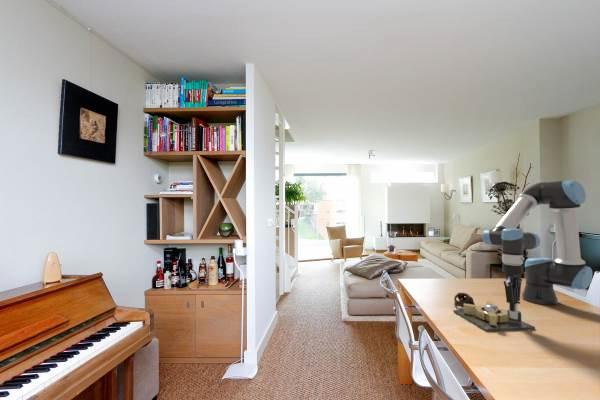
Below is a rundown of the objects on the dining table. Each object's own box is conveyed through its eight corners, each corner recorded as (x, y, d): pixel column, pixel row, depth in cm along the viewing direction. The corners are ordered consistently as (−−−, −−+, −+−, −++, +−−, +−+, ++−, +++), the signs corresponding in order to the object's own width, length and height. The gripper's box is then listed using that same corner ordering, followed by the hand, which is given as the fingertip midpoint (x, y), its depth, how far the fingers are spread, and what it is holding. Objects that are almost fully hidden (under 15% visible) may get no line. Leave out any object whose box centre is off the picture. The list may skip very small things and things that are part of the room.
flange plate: (495, 310, 143) (495, 297, 144) (535, 329, 121) (534, 313, 122) (453, 312, 142) (453, 298, 142) (485, 331, 120) (485, 315, 120)
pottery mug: (481, 311, 144) (475, 298, 142) (462, 318, 145) (456, 305, 144) (468, 297, 155) (463, 285, 154) (451, 304, 157) (446, 292, 155)
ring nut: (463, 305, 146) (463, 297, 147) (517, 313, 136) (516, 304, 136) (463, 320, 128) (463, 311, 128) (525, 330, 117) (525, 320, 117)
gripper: (516, 266, 120) (517, 324, 119) (528, 263, 127) (529, 317, 127) (496, 264, 126) (497, 318, 126) (509, 261, 134) (509, 312, 133)
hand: (513, 318), depth 126 cm, fingers closed
